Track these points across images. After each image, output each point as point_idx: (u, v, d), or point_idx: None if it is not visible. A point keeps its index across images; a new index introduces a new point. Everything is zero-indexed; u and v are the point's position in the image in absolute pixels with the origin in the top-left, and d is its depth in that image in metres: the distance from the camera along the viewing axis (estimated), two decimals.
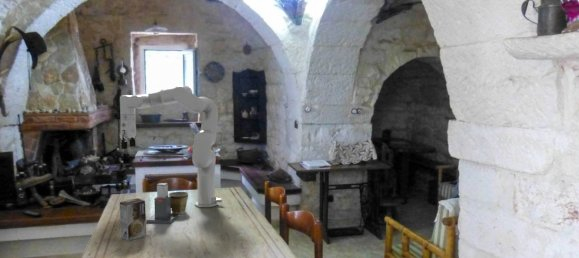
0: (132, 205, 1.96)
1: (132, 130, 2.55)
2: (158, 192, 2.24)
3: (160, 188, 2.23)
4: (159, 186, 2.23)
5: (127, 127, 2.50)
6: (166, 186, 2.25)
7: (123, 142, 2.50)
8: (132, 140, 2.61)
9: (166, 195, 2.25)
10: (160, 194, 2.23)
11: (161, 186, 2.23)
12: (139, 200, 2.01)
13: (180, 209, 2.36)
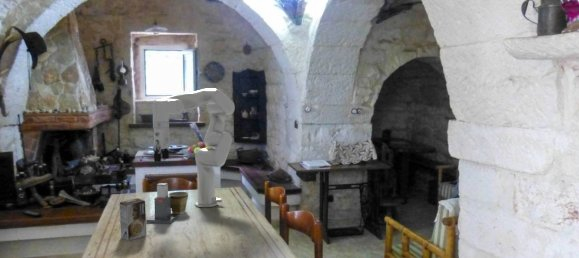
0: (132, 205, 1.96)
1: (166, 140, 2.22)
2: (158, 192, 2.24)
3: (160, 188, 2.23)
4: (159, 186, 2.23)
5: (161, 137, 2.18)
6: (166, 186, 2.25)
7: (156, 154, 2.17)
8: (165, 151, 2.28)
9: (166, 195, 2.25)
10: (160, 194, 2.23)
11: (161, 186, 2.23)
12: (139, 200, 2.01)
13: (180, 209, 2.36)
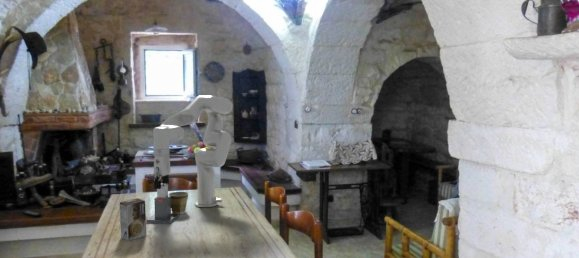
0: (132, 205, 1.96)
1: (166, 167, 2.23)
2: (158, 192, 2.24)
3: None
4: None
5: (161, 164, 2.19)
6: (166, 186, 2.25)
7: (157, 181, 2.19)
8: (165, 177, 2.29)
9: (166, 195, 2.25)
10: (160, 194, 2.23)
11: (161, 186, 2.23)
12: (139, 200, 2.01)
13: (180, 209, 2.36)
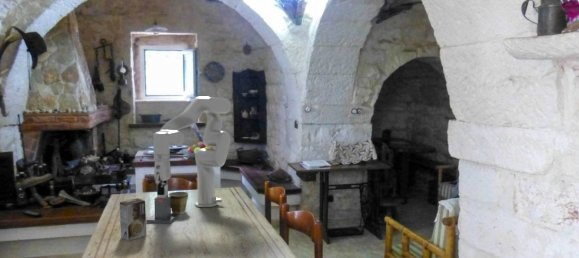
0: (132, 205, 1.96)
1: (167, 172, 2.24)
2: None
3: None
4: None
5: (162, 169, 2.19)
6: (166, 186, 2.25)
7: (159, 188, 2.22)
8: None
9: (166, 195, 2.25)
10: None
11: None
12: (139, 200, 2.01)
13: (180, 209, 2.36)
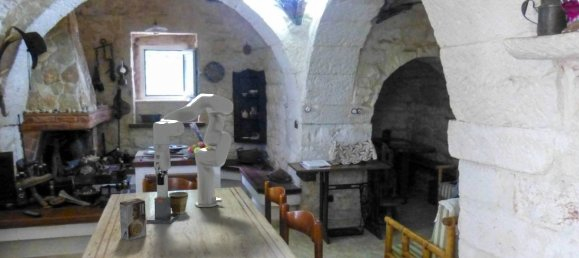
0: (132, 205, 1.96)
1: (167, 162, 2.23)
2: None
3: None
4: None
5: (162, 159, 2.19)
6: (166, 176, 2.25)
7: (159, 178, 2.21)
8: None
9: (166, 185, 2.25)
10: None
11: None
12: (139, 200, 2.01)
13: (180, 209, 2.36)
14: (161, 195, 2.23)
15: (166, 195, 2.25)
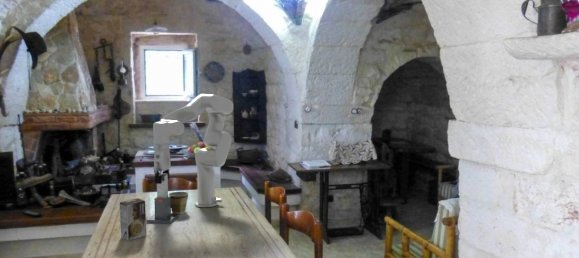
0: (132, 205, 1.96)
1: (167, 162, 2.23)
2: None
3: None
4: None
5: (162, 159, 2.19)
6: (166, 176, 2.25)
7: (157, 176, 2.19)
8: (166, 172, 2.29)
9: (166, 185, 2.25)
10: (160, 184, 2.23)
11: None
12: (139, 200, 2.01)
13: (180, 209, 2.36)
14: (161, 195, 2.23)
15: (166, 195, 2.25)
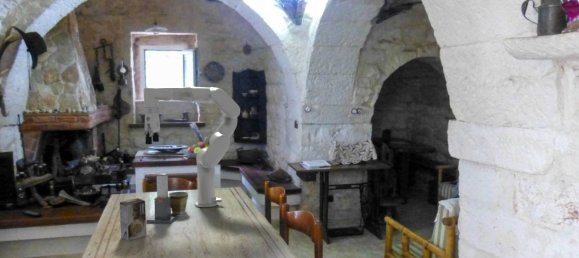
0: (132, 205, 1.96)
1: (156, 124, 2.39)
2: (158, 182, 2.23)
3: (160, 178, 2.23)
4: (159, 176, 2.23)
5: (152, 121, 2.34)
6: (166, 176, 2.25)
7: (148, 137, 2.34)
8: (155, 135, 2.45)
9: (166, 185, 2.25)
10: (160, 184, 2.23)
11: (161, 176, 2.23)
12: (139, 200, 2.01)
13: (180, 209, 2.36)
14: (161, 195, 2.23)
15: (166, 195, 2.25)
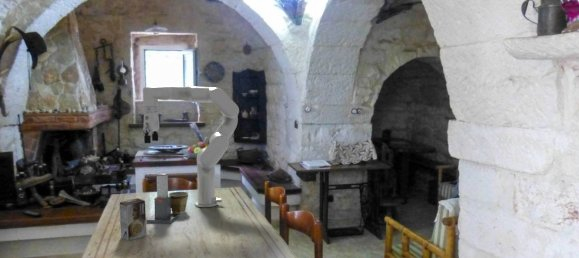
0: (132, 205, 1.96)
1: (155, 123, 2.41)
2: (158, 182, 2.23)
3: (160, 178, 2.23)
4: (159, 176, 2.23)
5: (150, 120, 2.36)
6: (166, 176, 2.25)
7: (146, 136, 2.36)
8: (155, 134, 2.46)
9: (166, 185, 2.25)
10: (160, 184, 2.23)
11: (161, 176, 2.23)
12: (139, 200, 2.01)
13: (180, 208, 2.36)
14: (161, 195, 2.23)
15: (166, 195, 2.25)
